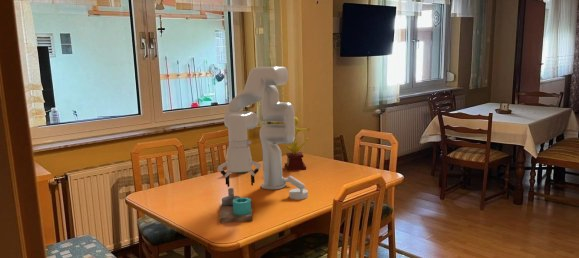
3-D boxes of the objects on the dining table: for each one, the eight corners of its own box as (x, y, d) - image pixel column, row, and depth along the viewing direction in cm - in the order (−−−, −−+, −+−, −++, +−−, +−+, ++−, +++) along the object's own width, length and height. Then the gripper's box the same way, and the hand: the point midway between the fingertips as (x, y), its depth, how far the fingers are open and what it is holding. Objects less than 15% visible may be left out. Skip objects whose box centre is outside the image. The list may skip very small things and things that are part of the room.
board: (251, 202, 203) (250, 184, 202) (252, 220, 181) (251, 200, 179) (222, 204, 202) (221, 185, 201) (220, 222, 180) (218, 202, 178)
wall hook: (292, 173, 214) (310, 175, 209) (293, 192, 215) (311, 195, 210) (282, 177, 207) (301, 180, 201) (283, 197, 208) (301, 200, 203)
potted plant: (276, 168, 259) (274, 117, 254) (292, 163, 271) (291, 114, 266) (295, 172, 250) (293, 119, 245) (312, 166, 262) (310, 115, 257)
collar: (250, 208, 189) (250, 196, 188) (251, 214, 182) (250, 202, 181) (233, 209, 189) (233, 198, 188) (233, 215, 182) (232, 203, 181)
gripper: (259, 141, 185) (261, 181, 187) (217, 143, 183) (219, 184, 186) (260, 144, 178) (261, 186, 180) (216, 147, 176) (218, 189, 178)
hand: (240, 185), depth 183 cm, fingers open, 9 cm apart
